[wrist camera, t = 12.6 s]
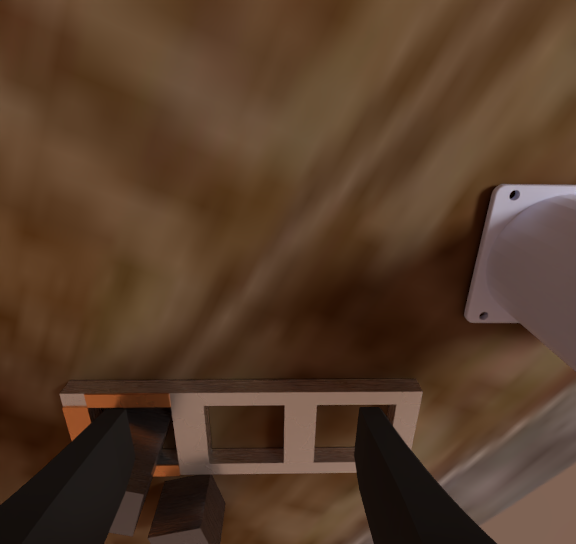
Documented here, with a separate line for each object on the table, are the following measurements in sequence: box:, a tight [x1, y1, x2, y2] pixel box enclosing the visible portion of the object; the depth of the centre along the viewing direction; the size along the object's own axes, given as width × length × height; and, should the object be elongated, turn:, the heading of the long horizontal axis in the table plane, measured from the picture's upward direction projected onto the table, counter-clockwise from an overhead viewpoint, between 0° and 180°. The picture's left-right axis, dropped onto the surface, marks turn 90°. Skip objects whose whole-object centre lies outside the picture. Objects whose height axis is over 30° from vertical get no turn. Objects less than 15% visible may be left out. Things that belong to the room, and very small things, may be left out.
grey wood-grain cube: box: [148, 474, 225, 544], centre depth 26 cm, size 4×4×4 cm
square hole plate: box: [59, 379, 423, 476], centre depth 24 cm, size 22×7×1 cm, turn 89°
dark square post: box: [109, 407, 172, 536], centre depth 22 cm, size 4×4×6 cm
